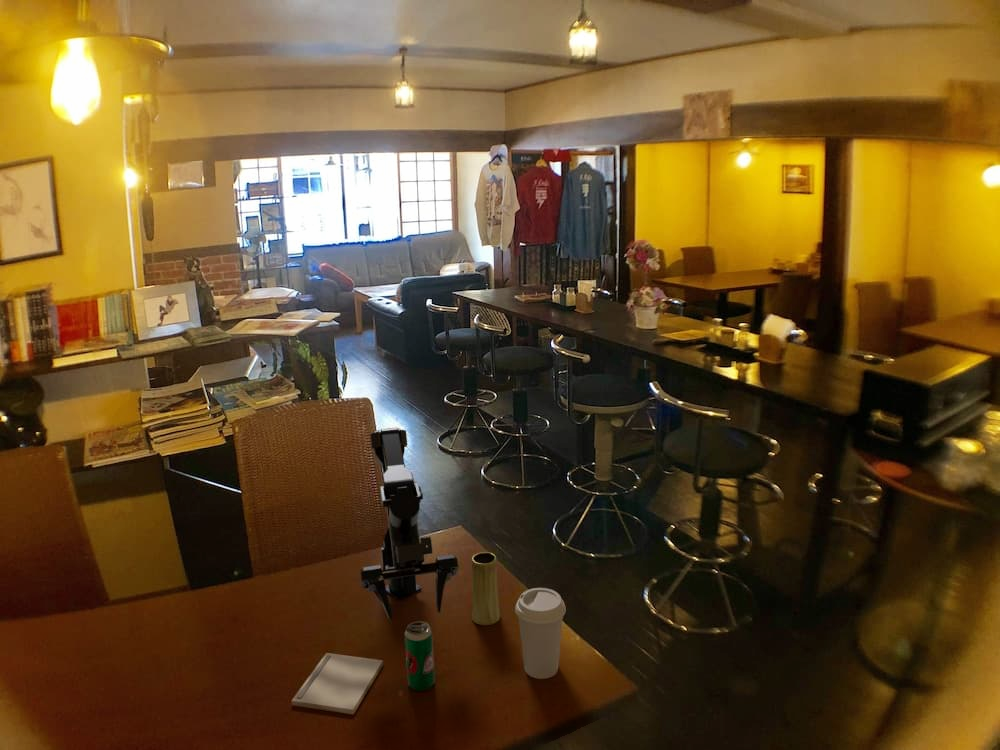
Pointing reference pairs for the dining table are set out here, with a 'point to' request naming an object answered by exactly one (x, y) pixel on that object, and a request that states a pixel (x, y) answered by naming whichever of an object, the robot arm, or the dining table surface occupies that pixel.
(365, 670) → the white rectangular tray
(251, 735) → the dining table surface
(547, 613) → the coffee cup
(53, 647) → the dining table surface
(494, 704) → the dining table surface
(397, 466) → the robot arm
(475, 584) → the vase
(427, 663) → the soda can
